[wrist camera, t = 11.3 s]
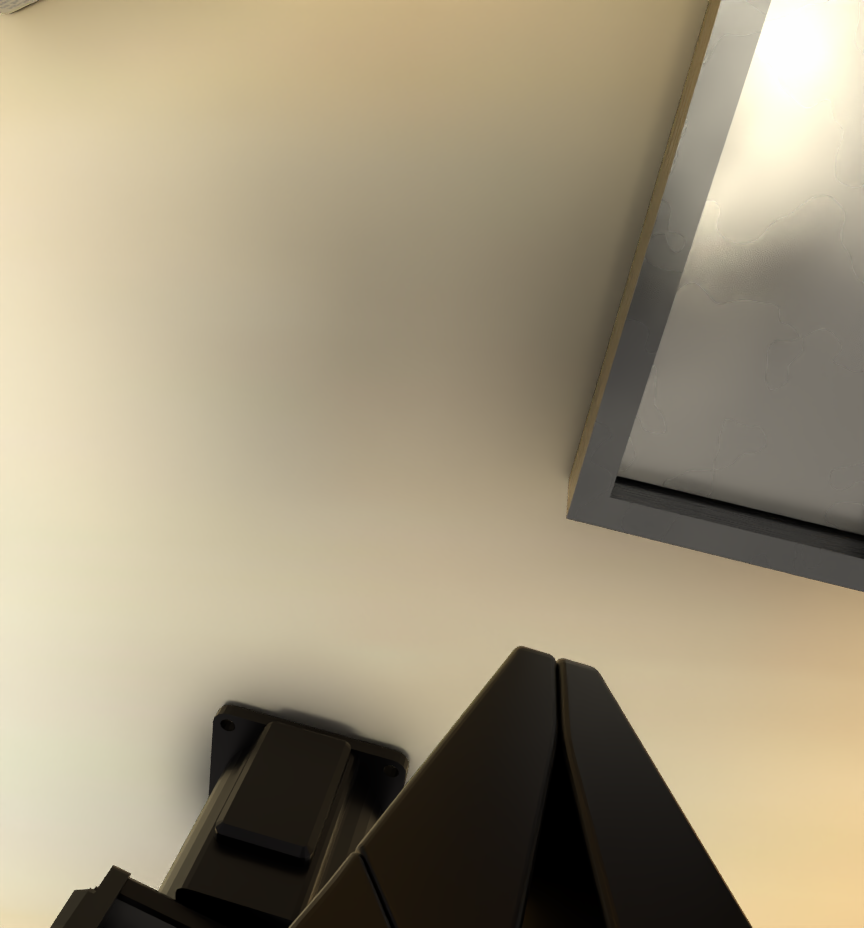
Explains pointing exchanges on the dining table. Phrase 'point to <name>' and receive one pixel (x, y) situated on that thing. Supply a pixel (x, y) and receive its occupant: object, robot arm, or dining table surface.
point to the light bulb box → (13, 5)
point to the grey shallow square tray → (746, 308)
